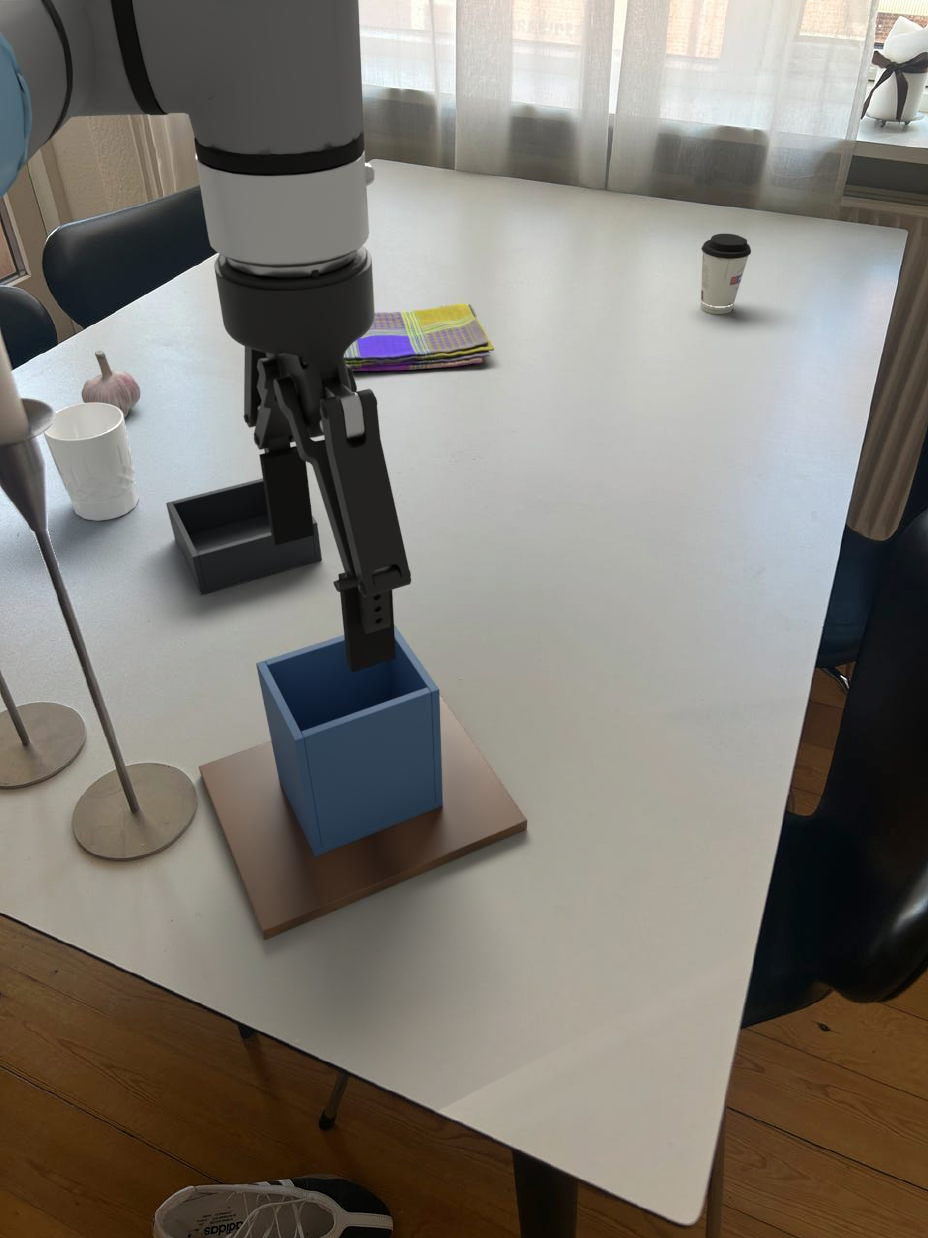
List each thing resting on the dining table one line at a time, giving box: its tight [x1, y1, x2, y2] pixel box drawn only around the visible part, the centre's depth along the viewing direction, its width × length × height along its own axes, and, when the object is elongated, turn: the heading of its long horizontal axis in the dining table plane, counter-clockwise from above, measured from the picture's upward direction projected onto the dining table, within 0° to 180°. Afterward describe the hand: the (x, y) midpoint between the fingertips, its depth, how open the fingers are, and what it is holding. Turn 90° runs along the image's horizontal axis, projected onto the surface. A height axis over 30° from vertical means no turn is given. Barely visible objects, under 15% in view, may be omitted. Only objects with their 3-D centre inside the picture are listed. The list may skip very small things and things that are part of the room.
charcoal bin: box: [165, 477, 323, 596], centre depth 96 cm, size 12×10×4 cm
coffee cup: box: [700, 233, 752, 315], centre depth 140 cm, size 7×7×10 cm
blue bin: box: [255, 624, 443, 857], centre depth 68 cm, size 10×8×12 cm
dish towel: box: [344, 302, 495, 372], centre depth 133 cm, size 18×24×3 cm
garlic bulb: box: [81, 349, 141, 419], centre depth 117 cm, size 8×7×8 cm
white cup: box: [43, 402, 140, 522], centre depth 101 cm, size 8×8×10 cm
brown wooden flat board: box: [198, 692, 528, 940], centre depth 72 cm, size 20×16×1 cm
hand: (329, 595), depth 60 cm, fingers open, 13 cm apart
